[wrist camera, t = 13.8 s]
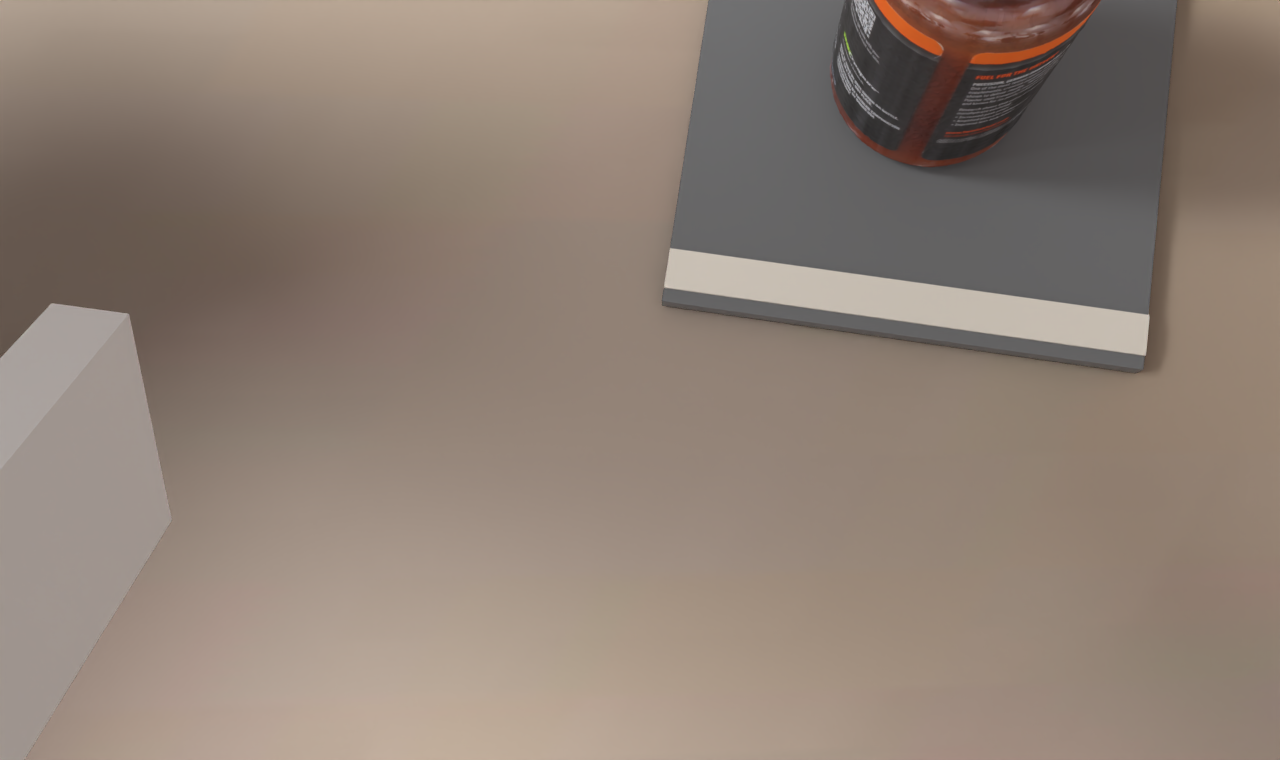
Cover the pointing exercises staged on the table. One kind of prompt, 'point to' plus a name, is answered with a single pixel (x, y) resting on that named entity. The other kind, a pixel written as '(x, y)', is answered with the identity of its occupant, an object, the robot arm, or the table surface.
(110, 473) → the robot arm
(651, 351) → the table surface
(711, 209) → the grey flat slab
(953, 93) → the supplement bottle
